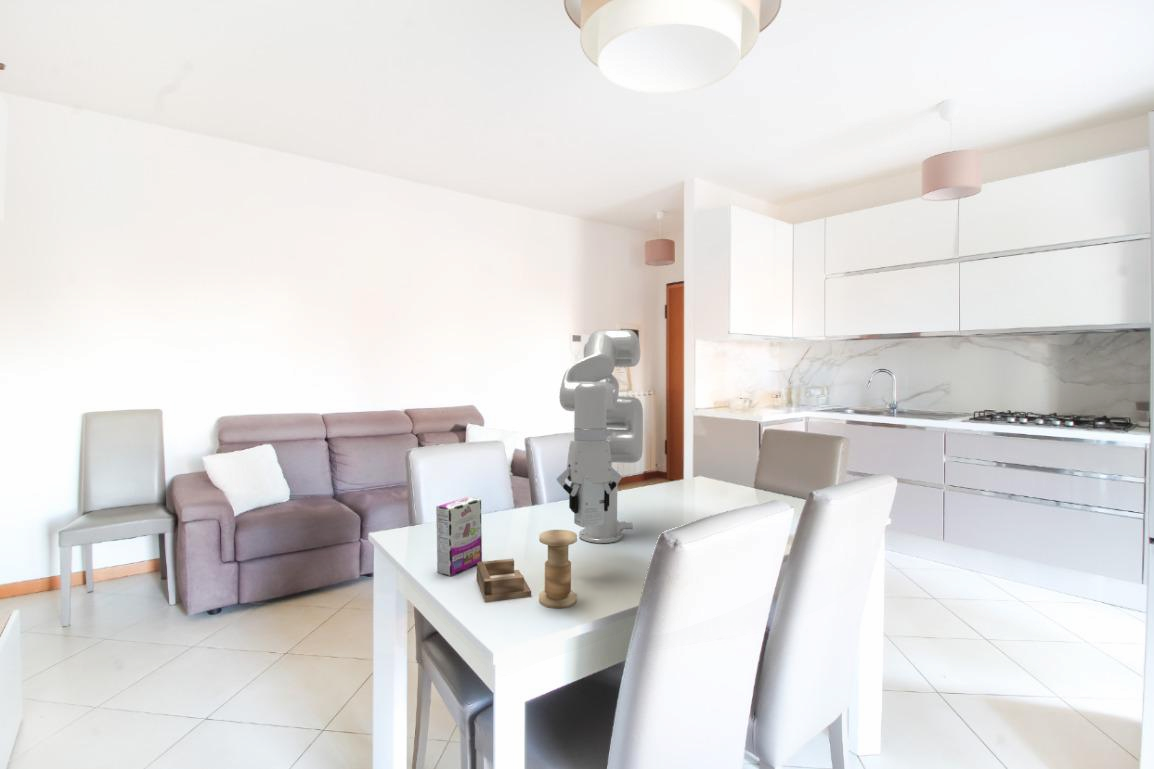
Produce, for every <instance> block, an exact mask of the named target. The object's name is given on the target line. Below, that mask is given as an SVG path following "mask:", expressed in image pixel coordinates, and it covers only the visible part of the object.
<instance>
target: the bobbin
mask: <svg viewBox="0 0 1154 769" xmlns="http://www.w3.org/2000/svg"><path fill="white" fill-rule="evenodd" d="M538 535H539V536H538V537H539V542H540V543H541V544H542V545H545V546H547V560H545V561H544V590H542V591H541V592H540V593H539V594H538V601H539V602H538V603H539V604H541V605H542V606H543V607H546V608H550V609H565V608H570V607H572V606H574V605H575V604H576V603H577V593H576V592H575V591H573V590H572V562H571V561H570V560H569V546H571V545H574V544H575V543H577V541H578V534H577V533H576V532H574V531H571V530H568V529H567V530H566V529H550V530H545V531H542V532H540V534H538Z"/></svg>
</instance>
